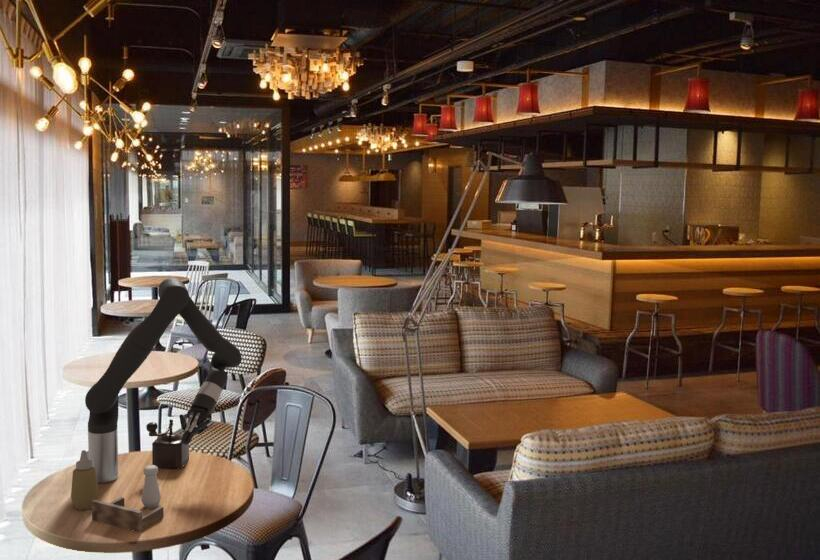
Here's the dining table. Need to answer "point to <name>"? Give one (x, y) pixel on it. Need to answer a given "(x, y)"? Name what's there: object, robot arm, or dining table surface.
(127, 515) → the walnut bay
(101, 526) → the dining table surface
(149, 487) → the salt shaker
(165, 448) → the manual coffee grinder
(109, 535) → the dining table surface
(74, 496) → the squeeze bottle
